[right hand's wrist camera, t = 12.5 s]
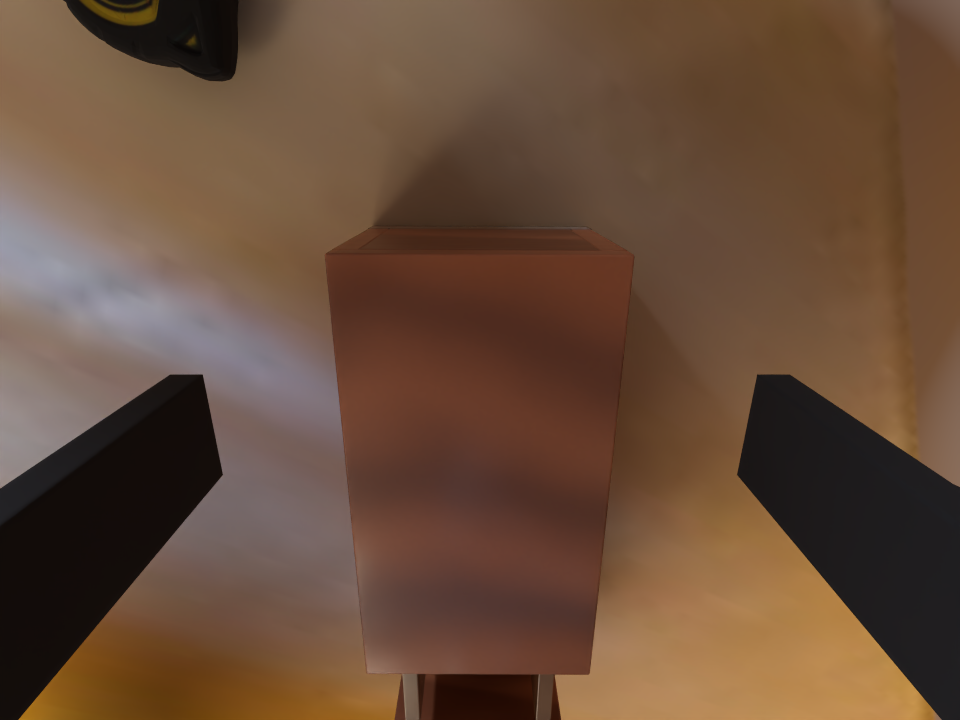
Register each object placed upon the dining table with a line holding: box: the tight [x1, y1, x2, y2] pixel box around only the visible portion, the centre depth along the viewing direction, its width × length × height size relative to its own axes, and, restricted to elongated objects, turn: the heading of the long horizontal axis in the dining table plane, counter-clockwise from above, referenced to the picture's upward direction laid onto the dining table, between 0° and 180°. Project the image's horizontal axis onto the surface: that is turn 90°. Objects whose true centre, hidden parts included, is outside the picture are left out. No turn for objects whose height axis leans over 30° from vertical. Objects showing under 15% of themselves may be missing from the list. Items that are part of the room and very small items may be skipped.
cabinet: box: [325, 226, 634, 675], centre depth 25 cm, size 20×11×9 cm, turn 0°
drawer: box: [395, 674, 561, 720], centre depth 29 cm, size 24×10×7 cm, turn 0°
